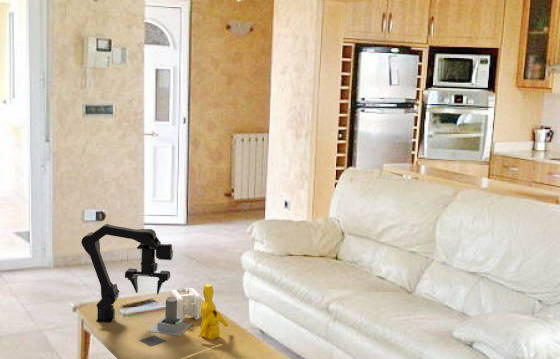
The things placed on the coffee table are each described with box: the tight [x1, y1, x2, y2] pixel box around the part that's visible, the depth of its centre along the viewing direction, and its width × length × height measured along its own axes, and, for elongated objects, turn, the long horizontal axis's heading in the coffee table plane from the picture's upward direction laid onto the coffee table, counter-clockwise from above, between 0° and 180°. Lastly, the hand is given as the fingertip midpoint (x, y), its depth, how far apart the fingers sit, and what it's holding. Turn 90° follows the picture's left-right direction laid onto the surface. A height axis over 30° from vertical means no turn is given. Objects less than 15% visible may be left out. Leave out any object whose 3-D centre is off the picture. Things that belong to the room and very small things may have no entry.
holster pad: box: [138, 335, 167, 347], centre depth 276 cm, size 8×8×1 cm
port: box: [148, 316, 193, 337], centre depth 290 cm, size 14×14×4 cm
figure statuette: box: [198, 284, 229, 340], centre depth 283 cm, size 18×8×22 cm, turn 142°
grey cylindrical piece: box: [164, 296, 177, 324], centre depth 289 cm, size 5×5×13 cm
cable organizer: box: [170, 287, 201, 321], centre depth 304 cm, size 15×11×12 cm
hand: (147, 293), depth 295 cm, fingers open, 9 cm apart
